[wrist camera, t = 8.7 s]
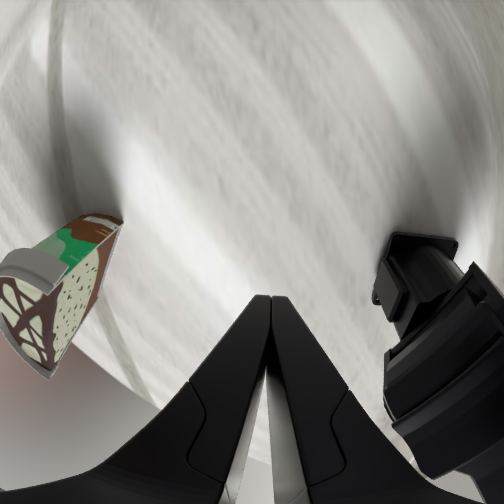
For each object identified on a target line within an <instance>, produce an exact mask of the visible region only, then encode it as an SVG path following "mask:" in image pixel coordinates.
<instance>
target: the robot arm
mask: <svg viewBox="0 0 504 504" xmlns="http://www.w3.org/2000/svg"><path fill="white" fill-rule="evenodd" d="M398 237H399V239H398V240H397V241H395V239H396V238H398ZM452 244H453V246H452ZM457 248H458V242H457V241H456V240H455V239H454V238H447V237H439V236H430V235H422V234H413V233H403V232H394V233H393V234H392V235H391V236H390V239H389V243H388V246H387V250H386V254H385V257H384V258H383V259H382V261H381V264H380V267H379V270H378V274H377V277H376V280H375V283H374V292H373V295H372V302H373V304H374V305H382V308H383V310H384V313H385V315H386V318H387V320H388V321H389V322H393V323H394V326H395V328H396V331H397V333H398V336H399V338H400V342H399V343H398V344H397V345H396V346H395V347H393V348H392V349H389V350H388V351H387V352H386V353H385V354H384V387H383V401H384V407H385V409H386V411H387V413H388V415H389V417H390V418H391V420H392V421H393V423H392V428H393V429H394V430H395V431H396V432H397V433H398V434H399V435H400V436H401V437H402V438H403V439H404V440H405V442H406V443H407V445H408V446H409V448H410V449H411V451H412V453H413V455H414V458H415V460H416V462H417V464H418V467H419V469H420V471H421V472H422V473H424V474H425V475H426V476H428V477H429V478H431V479H433V480H435V479H437V478H439V477H442V476H444V475H446V474H448V473H450V472H452V471H457V472H459V473H463V474H465V475H468V476H470V477H471V479H472V480H473V482H474V484H475V486H476V488H477V489H478V492H479V494H480V495H481V498H482V499H483V502H484V503H480V502H477V501H474V500H471V499H467V498H465V497H462V496H459V495H456V494H453V493H450V492H447V491H445V490H443V489H440V488H438V487H436V486H434V485H433V484H431V483H430V482H428V481H427V480H426V479H425V478H423V477H422V476H421V475H420V474H419V473H418V472H417V471H416V470H415V469H414V468H413V467H412V465H411V464H410V463H409V462H408V461H407V460H406V459H405V458H404V457H403V455H402V454H401V453H400V452H399V451H398V450H397V449H396V448H395V447H394V445H393V444H392V443H391V442H390V441H389V440H388V439H387V438H386V436H385V435H384V434H383V433H382V432H381V431H380V429H379V428H378V427H377V426H376V425H375V423H374V422H373V421H372V420H371V418H370V417H369V416H368V414H367V413H366V412H365V410H364V409H363V407H362V406H361V405H360V403H359V402H358V400H357V399H356V397H355V396H354V394H353V393H352V391H351V390H348V389H349V387H348V386H347V384H346V383H345V381H344V380H343V378H342V377H341V375H340V374H339V372H338V371H337V369H336V368H335V366H334V365H333V363H332V362H331V360H330V359H329V357H328V356H327V355H326V353H325V352H324V350H323V349H322V347H321V346H320V344H319V343H318V341H317V340H316V338H315V337H314V335H313V334H312V332H311V331H310V329H309V328H308V326H307V325H306V324H305V322H304V321H303V319H302V318H301V316H300V315H299V313H298V312H297V310H296V309H295V307H294V306H293V304H292V303H291V301H290V300H289V299H288V297H286V296H272V297H270V296H269V295H255V296H254V297H253V298H252V300H251V301H250V302H249V303H248V305H247V306H246V307H245V309H244V310H243V311H242V313H241V314H240V315H239V316H238V318H237V319H236V320H235V322H234V323H233V324H232V325H231V327H230V328H229V329H228V331H227V332H226V333H225V334H224V336H223V337H222V338H221V339H220V341H219V342H218V343H217V345H216V346H215V347H214V348H213V350H212V351H211V352H210V353H209V355H208V356H207V357H206V358H205V360H204V361H203V362H202V363H201V365H200V366H199V367H198V368H197V370H196V371H195V372H194V373H193V375H192V376H191V377H190V378H189V382H188V381H187V382H186V383H185V384H184V385H183V387H182V388H181V389H180V390H179V392H178V393H177V394H176V395H175V396H174V397H173V398H172V400H171V401H170V402H169V403H168V404H167V405H166V406H165V407H164V409H162V410H161V411H160V412H159V413H158V414H157V415H156V416H155V417H154V418H153V419H152V420H151V421H150V422H149V423H148V424H147V425H146V426H145V427H144V428H142V429H141V430H140V431H139V432H138V433H137V434H136V435H135V436H133V437H132V438H131V439H130V440H129V441H128V442H126V443H125V444H124V445H123V446H122V447H121V448H120V449H118V450H117V451H116V452H115V453H114V454H112V455H111V456H110V457H109V458H108V459H106V460H105V461H104V462H102V463H101V464H99V465H98V466H96V467H95V468H93V469H91V470H89V471H86V472H84V473H82V474H79V475H76V476H72V477H69V478H65V479H61V480H58V481H54V482H50V483H45V484H41V485H36V486H32V487H27V488H21V489H16V490H10V491H5V490H3V489H1V488H0V504H235V502H236V498H237V494H238V490H239V486H240V483H241V478H242V475H243V471H244V466H245V462H246V458H247V454H248V450H249V446H250V442H251V437H252V433H253V429H254V424H255V420H256V416H257V411H258V407H259V402H260V397H261V393H262V388H263V383H264V378H265V371H266V387H267V401H268V415H269V429H270V444H271V458H272V472H273V487H274V502H275V504H504V295H503V294H502V292H501V291H500V290H499V289H498V288H497V286H496V285H495V284H494V283H493V282H492V281H491V280H490V278H489V277H488V276H487V275H486V274H485V273H484V272H483V271H482V270H481V269H480V268H479V266H478V265H477V264H476V263H475V262H474V261H473V263H472V264H471V265H470V266H469V270H468V271H467V272H466V274H464V273H463V272H462V270H461V269H460V268H459V267H458V265H457V264H456V263H455V262H454V261H453V259H454V257H455V254H456V251H457ZM378 298H379V299H378ZM376 299H378V300H376Z"/></svg>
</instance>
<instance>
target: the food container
mask: <svg viewBox="0 0 504 504" xmlns="http://www.w3.org/2000/svg"><path fill="white" fill-rule="evenodd" d="M122 226H123V222H121V221H120V220H118V219H116V218H114V217H112V216H107V215H102V214H97V213H94V214H88V215H82V216H80V217H79V218H77V219H76V220H74V221H72V222H71V223H69V224H68V225H66V226H64V227H63V228H61V229H60V230H58V231H57V232H55V233H54V234H52V235H51V236H49V237H48V238H46V239H45V240H43V241H42V242H40V243H39V244H37V245H36V246H34V247H33V248H32V249H29V248H20V249H15V250H13V251H12V252H10V253H8V254H7V256H6V257H5V258H4V259H3V261H2V262H1V264H0V330H1V332H2V334H3V335H4V337H5V338H6V339H7V341H8V342H9V344H10V345H11V346H12V347H13V349H14V350H15V351H16V352H17V354H18V355H19V356H21V358H22V359H23V360H24V361H25V362H26V363H27V364H28V365H30V366H31V367H32V368H33V369H34V370H35V371H36V372H38V373H39V374H40V375H42V376H43V377H44V378H45V379H47V380H48V381H49V379H50V378H51V376H53V374H54V372H55V371H56V369H57V368H58V366H59V364H58V363H59V362H60V360H61V358H62V356H63V355H64V353H65V351H66V349H67V348H68V346H69V344H70V343H71V341H72V339H73V338H74V336H75V334H76V333H77V331H78V329H79V328H80V326H81V325H82V323H83V321H84V320H85V318H86V317H87V315H88V314H89V312H90V310H91V309H92V307H93V306H94V304H95V303H96V301H97V300H98V298H99V295H100V292H101V288H102V285H103V282H104V278H105V275H106V272H107V269H108V266H109V263H110V260H111V257H112V254H113V251H114V248H115V245H116V242H117V239H118V237H119V234H120V231H121V228H122Z"/></svg>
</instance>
